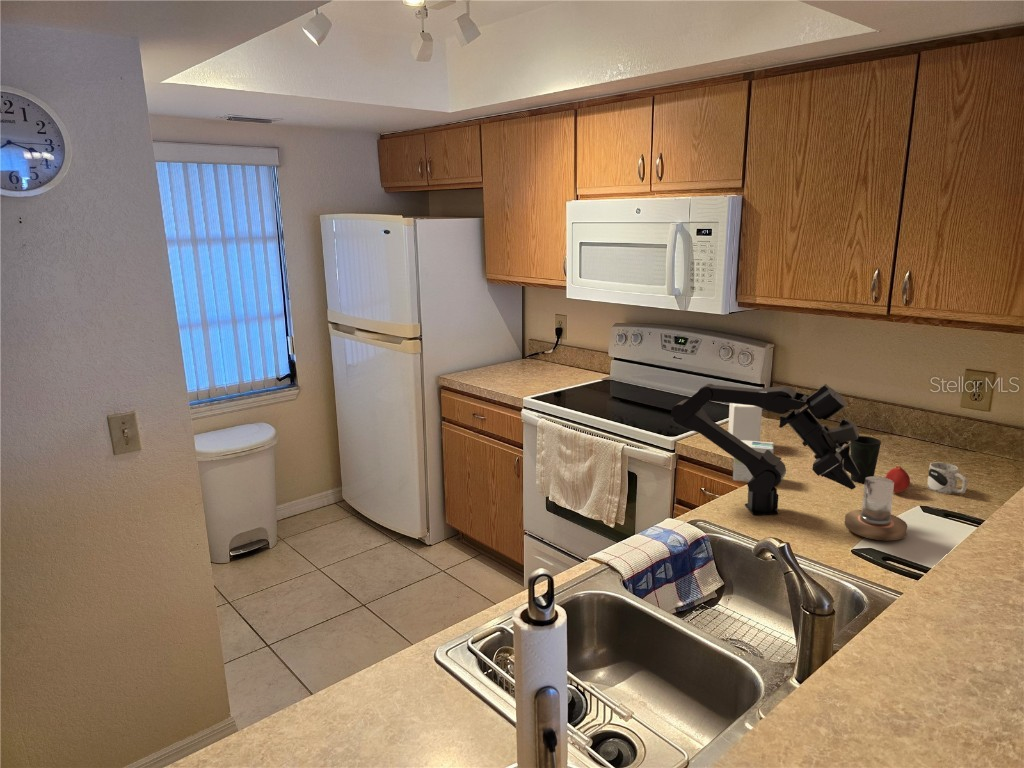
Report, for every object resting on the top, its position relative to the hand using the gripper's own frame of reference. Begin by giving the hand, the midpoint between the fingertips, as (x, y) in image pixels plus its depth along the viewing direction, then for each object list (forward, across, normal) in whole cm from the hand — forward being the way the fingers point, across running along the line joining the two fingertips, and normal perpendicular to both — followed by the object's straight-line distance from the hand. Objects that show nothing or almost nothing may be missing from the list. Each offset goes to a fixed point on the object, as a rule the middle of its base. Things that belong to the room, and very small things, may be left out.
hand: (856, 481), depth 159 cm
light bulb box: (-11, +22, +29) cm, 38 cm away
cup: (+8, +35, +9) cm, 37 cm away
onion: (+14, +29, +3) cm, 32 cm away
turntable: (+12, 0, +5) cm, 13 cm away
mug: (+22, +37, -5) cm, 43 cm away
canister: (+10, 0, +3) cm, 10 cm away
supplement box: (-18, +50, +36) cm, 64 cm away
